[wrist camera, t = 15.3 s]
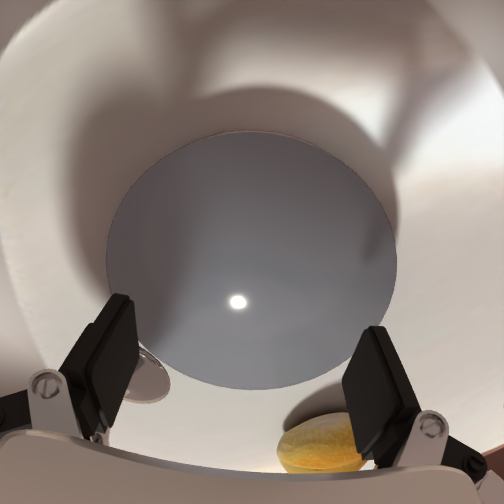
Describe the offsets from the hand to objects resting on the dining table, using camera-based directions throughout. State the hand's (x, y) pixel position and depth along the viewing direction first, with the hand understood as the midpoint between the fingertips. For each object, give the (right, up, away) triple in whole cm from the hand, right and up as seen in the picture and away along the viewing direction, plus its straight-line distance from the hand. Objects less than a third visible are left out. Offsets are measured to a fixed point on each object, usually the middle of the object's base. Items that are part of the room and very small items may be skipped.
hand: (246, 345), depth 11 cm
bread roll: (+4, -10, +11) cm, 15 cm away
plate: (0, +2, +5) cm, 6 cm away
